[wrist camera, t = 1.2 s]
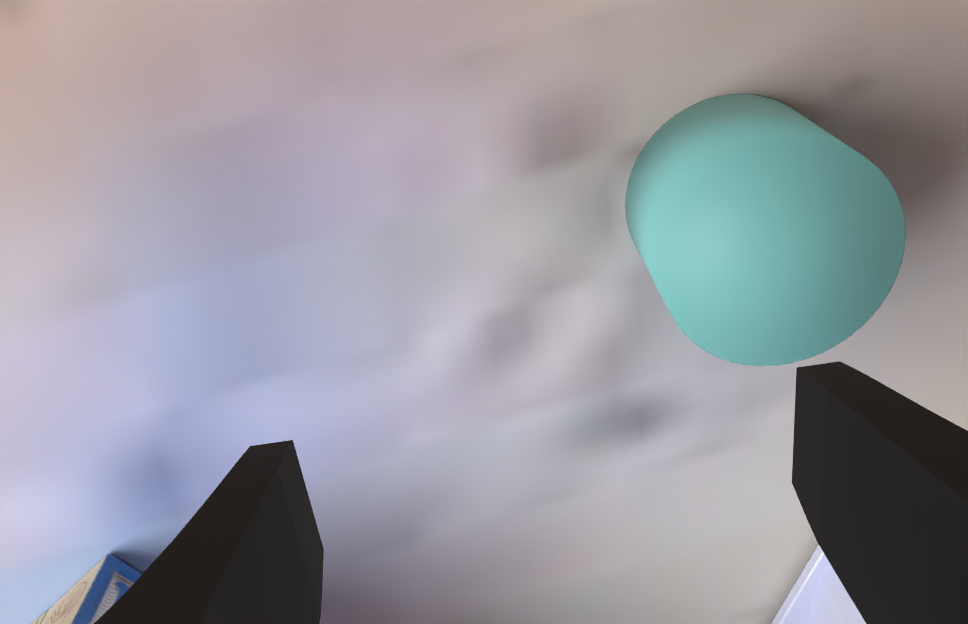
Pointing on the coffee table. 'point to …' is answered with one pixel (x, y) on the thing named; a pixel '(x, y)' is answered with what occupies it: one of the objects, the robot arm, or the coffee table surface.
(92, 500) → the coffee table surface
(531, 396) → the coffee table surface
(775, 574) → the coffee table surface
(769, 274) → the teal rounded piece
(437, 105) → the coffee table surface
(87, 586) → the stack of blocks
